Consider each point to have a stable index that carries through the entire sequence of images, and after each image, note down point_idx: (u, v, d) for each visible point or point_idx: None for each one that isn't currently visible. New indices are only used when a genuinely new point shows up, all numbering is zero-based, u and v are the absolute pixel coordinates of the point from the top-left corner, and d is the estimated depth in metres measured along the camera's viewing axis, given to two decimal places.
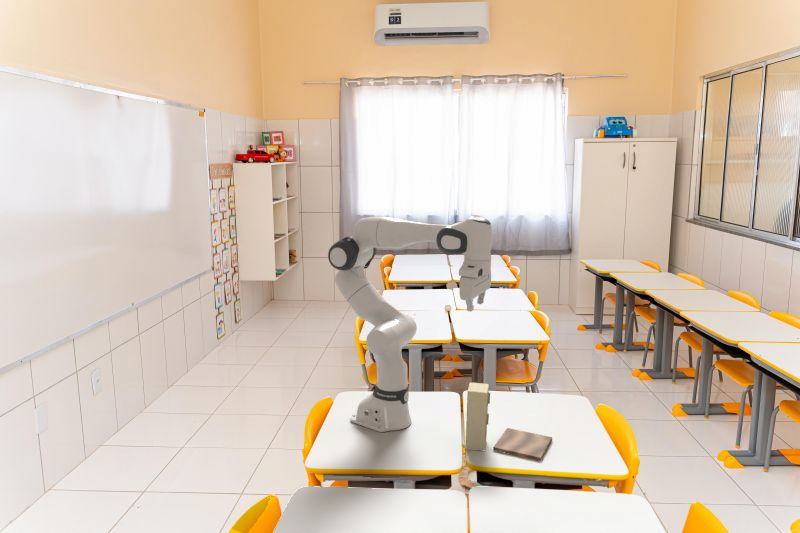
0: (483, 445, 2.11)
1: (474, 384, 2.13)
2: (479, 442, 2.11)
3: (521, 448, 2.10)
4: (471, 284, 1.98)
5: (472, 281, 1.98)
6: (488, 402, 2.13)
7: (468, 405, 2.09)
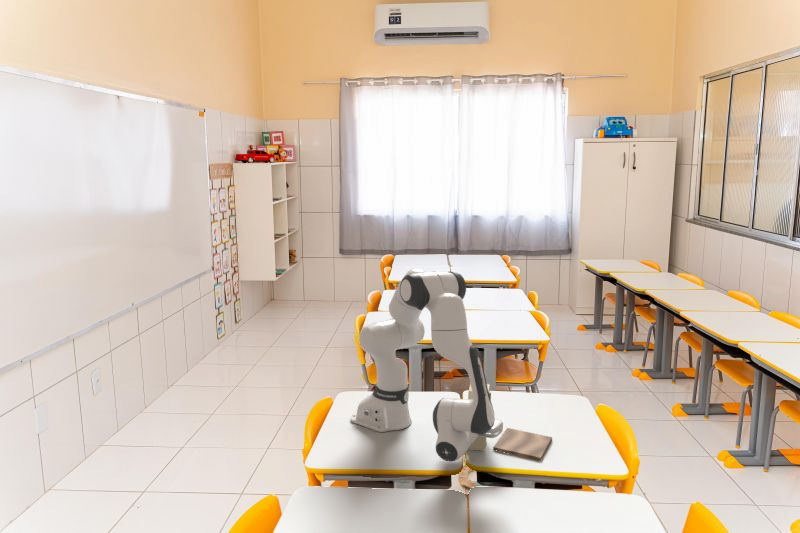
0: (483, 445, 2.11)
1: None
2: (479, 442, 2.11)
3: (521, 448, 2.10)
4: None
5: None
6: None
7: None
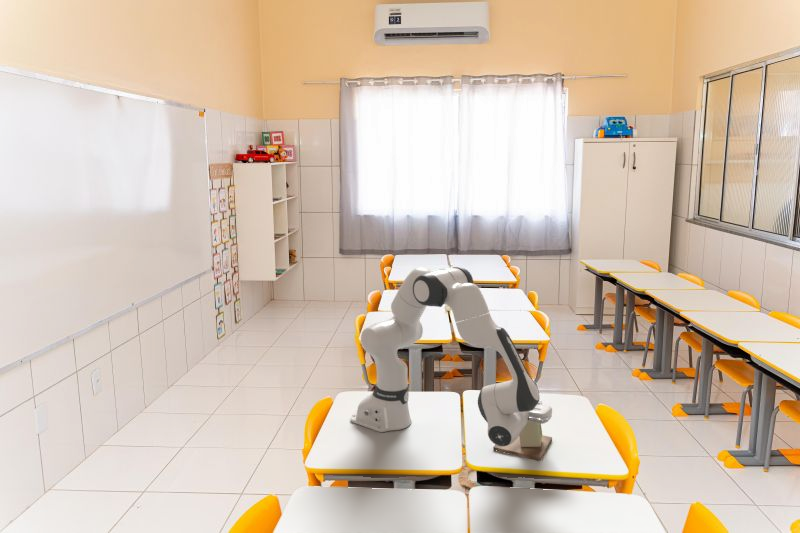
0: (538, 440, 2.09)
1: None
2: (533, 438, 2.09)
3: (521, 448, 2.10)
4: None
5: None
6: None
7: None
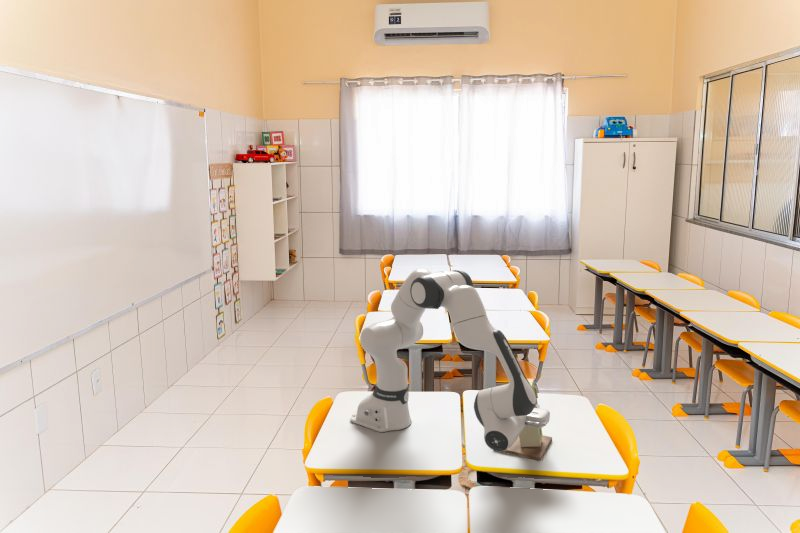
0: (537, 440, 2.09)
1: None
2: (533, 438, 2.09)
3: (521, 448, 2.10)
4: None
5: None
6: (536, 396, 2.12)
7: None
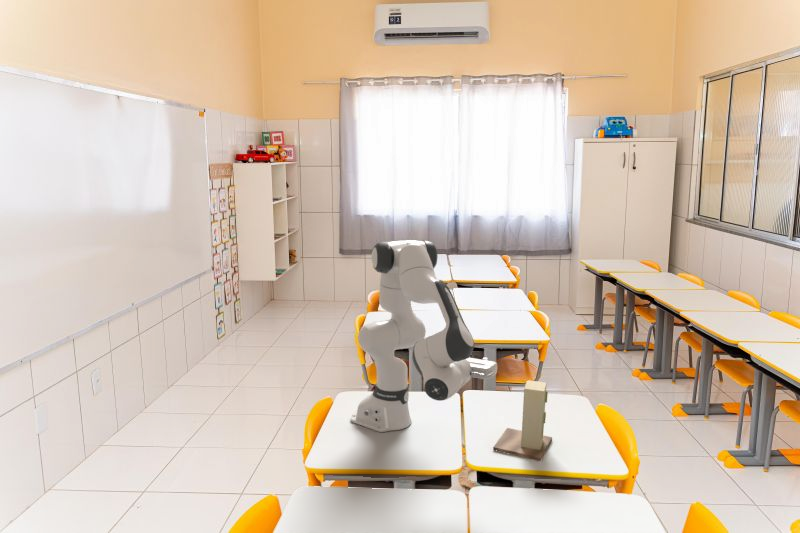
0: (539, 444, 2.09)
1: (531, 382, 2.12)
2: (535, 441, 2.09)
3: (521, 448, 2.10)
4: None
5: None
6: (545, 401, 2.11)
7: (524, 403, 2.08)
